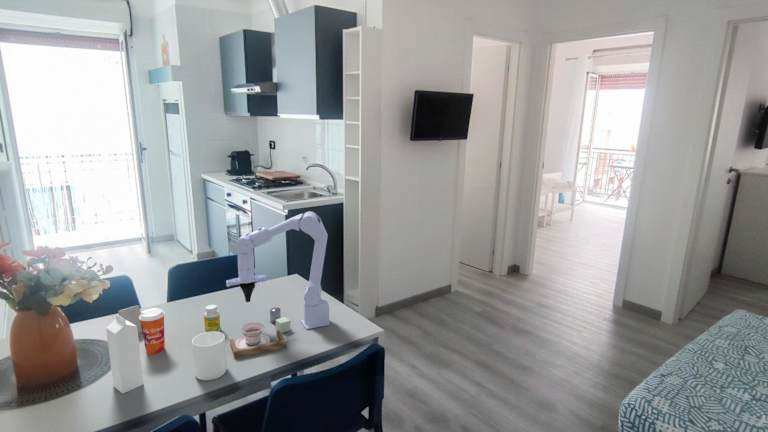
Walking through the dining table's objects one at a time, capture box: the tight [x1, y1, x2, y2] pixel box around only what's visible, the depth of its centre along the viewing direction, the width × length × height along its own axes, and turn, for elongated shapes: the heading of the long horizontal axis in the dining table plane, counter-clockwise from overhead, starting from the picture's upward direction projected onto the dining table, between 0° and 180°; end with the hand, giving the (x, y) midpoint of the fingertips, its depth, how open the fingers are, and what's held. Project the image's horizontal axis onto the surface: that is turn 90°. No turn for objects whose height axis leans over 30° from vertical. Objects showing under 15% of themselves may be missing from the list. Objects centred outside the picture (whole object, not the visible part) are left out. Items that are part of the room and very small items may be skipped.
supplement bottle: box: [203, 304, 221, 332], centre depth 161 cm, size 5×5×10 cm
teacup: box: [235, 321, 271, 349], centre depth 154 cm, size 12×12×6 cm
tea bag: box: [117, 304, 143, 334], centre depth 158 cm, size 4×7×10 cm, turn 140°
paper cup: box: [139, 307, 166, 355], centre depth 146 cm, size 8×8×14 cm
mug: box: [191, 331, 228, 382], centre depth 135 cm, size 10×12×12 cm
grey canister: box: [269, 307, 282, 325], centre depth 170 cm, size 4×4×5 cm
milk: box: [105, 313, 144, 395], centre depth 126 cm, size 6×6×22 cm
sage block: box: [275, 316, 291, 334], centre depth 164 cm, size 4×4×4 cm
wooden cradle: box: [229, 329, 287, 359], centre depth 151 cm, size 17×9×2 cm, turn 117°
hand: (247, 301), depth 165 cm, fingers closed
